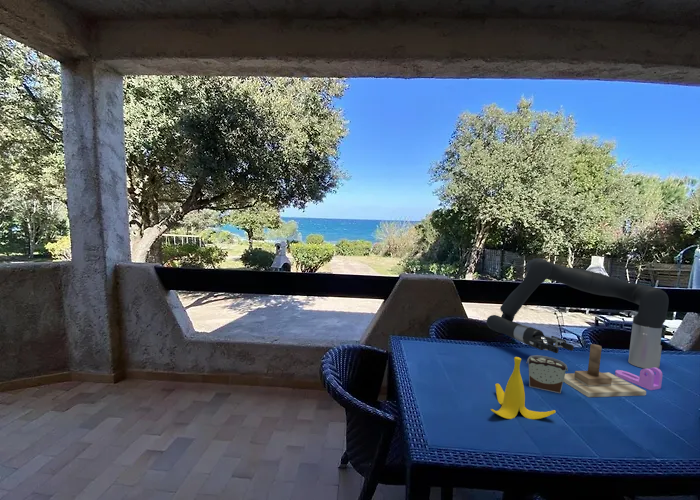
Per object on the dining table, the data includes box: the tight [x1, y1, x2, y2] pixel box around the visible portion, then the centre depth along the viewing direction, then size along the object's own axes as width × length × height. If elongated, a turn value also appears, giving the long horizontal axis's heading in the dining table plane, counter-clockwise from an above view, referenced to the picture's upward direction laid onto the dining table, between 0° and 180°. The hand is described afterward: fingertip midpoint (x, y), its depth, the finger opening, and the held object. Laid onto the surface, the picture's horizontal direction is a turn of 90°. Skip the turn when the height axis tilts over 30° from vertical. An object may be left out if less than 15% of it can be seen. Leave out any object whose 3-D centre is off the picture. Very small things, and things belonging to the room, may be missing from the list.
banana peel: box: [490, 356, 557, 420], centre depth 99 cm, size 17×19×17 cm
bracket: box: [614, 367, 663, 391], centre depth 124 cm, size 13×6×7 cm, turn 18°
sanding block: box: [574, 343, 612, 387], centre depth 118 cm, size 9×6×13 cm, turn 98°
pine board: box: [563, 372, 647, 398], centre depth 119 cm, size 22×14×2 cm, turn 98°
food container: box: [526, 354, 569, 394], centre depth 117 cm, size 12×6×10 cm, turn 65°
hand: (565, 349), depth 128 cm, fingers open, 8 cm apart
